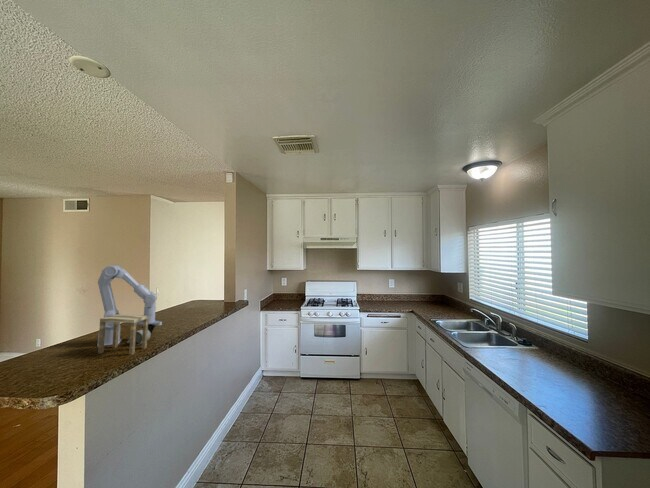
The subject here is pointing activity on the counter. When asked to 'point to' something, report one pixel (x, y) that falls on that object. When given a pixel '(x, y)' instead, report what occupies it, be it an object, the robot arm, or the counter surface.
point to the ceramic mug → (139, 337)
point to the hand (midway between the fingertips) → (148, 337)
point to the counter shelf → (116, 320)
